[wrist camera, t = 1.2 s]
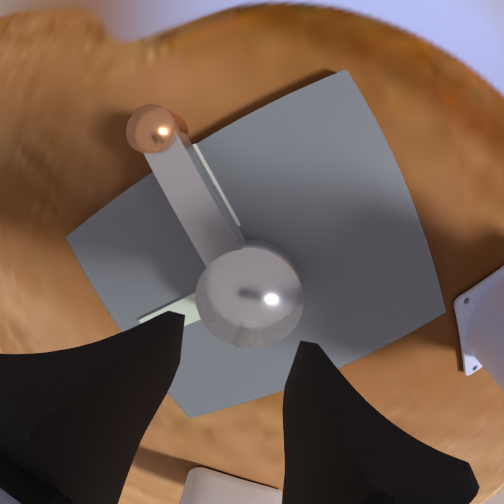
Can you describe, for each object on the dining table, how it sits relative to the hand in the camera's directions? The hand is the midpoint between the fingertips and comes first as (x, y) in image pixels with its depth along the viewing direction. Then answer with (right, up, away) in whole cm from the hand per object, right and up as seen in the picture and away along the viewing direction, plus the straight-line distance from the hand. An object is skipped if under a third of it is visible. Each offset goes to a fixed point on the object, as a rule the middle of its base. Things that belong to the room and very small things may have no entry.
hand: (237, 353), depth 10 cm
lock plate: (+1, +2, +8) cm, 8 cm away
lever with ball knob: (-1, +5, +5) cm, 7 cm away
